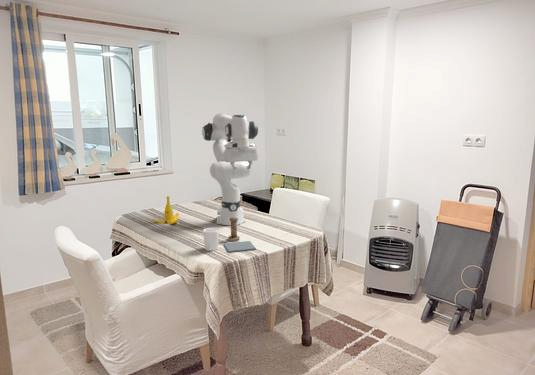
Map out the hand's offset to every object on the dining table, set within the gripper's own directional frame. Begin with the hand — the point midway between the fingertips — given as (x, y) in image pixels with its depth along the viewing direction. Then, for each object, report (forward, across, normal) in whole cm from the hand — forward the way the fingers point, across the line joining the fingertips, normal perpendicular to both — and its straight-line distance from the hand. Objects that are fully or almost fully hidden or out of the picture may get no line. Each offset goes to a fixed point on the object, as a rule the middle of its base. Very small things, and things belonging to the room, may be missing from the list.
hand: (241, 169), depth 216 cm
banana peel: (+33, +20, -55) cm, 67 cm away
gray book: (+39, +12, +13) cm, 43 cm away
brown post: (+38, +8, 0) cm, 39 cm away
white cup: (+39, +25, +6) cm, 46 cm away
